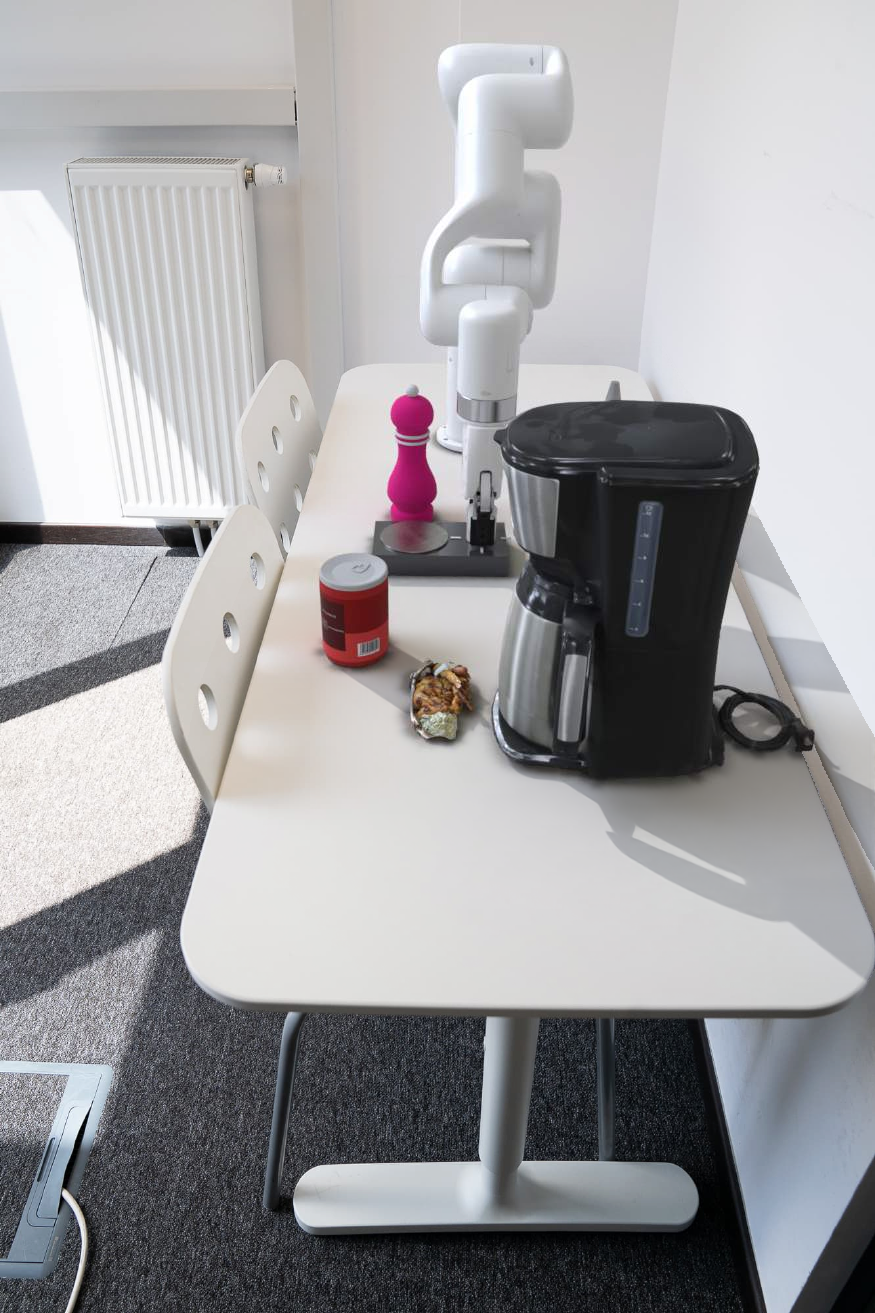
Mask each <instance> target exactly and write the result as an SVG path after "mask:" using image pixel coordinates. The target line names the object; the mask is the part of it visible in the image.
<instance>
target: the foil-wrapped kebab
mask: <svg viewBox="0 0 875 1313" xmlns="http://www.w3.org/2000/svg"><path fill="white" fill-rule="evenodd" d="M449 664H452V665H454V664H455V663H454V662H452V661H449ZM449 664H448V663H446V662H444V663H440V662H434V661H433V660H431V659H429V658H428V657H427V658H426V659H424V660H423V663H422V664H421V665H419V668H418V669H417V671H414V672H412V673H410V675H409V680H410V682H408V683H409V684H408V688H410V693H409V696H410V698H409V699H410V710H409V715H410V721H411V722H412V727H413V729H414V730H415V732H416V733H419V734H420V736H421V737H422V738H425V739H431V738H435V737H443V738H446V739H449V740H456V736H457V730H458V719H457V715H459V714H460V713H462V711H463V707H464V704H465V706H466V707H467V708H468V709H469V711H470V712H473V709H474V707H473V706H472V701H473V696H472V692H471V689H470V680H471V679H472V677H471V675H470V673H469V669H468V667H466V666H463V665H462V664H457V665H455V666H454V667H451V666H450V665H449ZM426 669H429V672H428V671H426V672H425V670H426ZM423 672H425V674H424V675H423V676H421V674H422V673H423Z"/></svg>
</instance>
